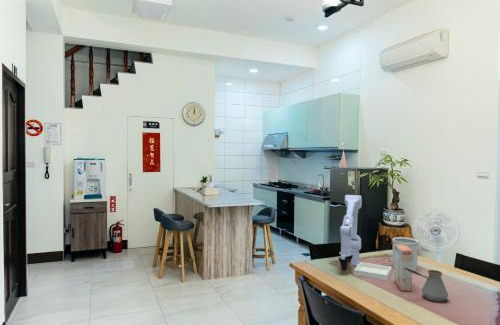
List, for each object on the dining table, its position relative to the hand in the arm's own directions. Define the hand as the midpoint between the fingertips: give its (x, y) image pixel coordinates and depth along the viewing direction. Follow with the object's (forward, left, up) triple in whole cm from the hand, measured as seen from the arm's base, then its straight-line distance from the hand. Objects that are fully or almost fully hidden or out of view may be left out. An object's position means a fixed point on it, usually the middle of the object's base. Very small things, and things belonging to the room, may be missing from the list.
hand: (345, 268), depth 207 cm
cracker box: (+7, +32, -2) cm, 33 cm away
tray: (-7, +14, -2) cm, 16 cm away
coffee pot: (+19, +43, -2) cm, 47 cm away
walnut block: (0, 0, -2) cm, 2 cm away
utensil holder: (-28, +29, -2) cm, 40 cm away
